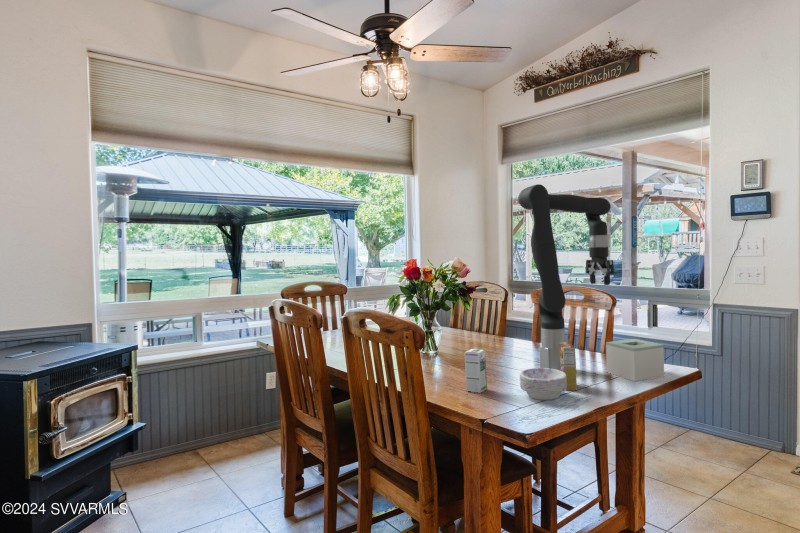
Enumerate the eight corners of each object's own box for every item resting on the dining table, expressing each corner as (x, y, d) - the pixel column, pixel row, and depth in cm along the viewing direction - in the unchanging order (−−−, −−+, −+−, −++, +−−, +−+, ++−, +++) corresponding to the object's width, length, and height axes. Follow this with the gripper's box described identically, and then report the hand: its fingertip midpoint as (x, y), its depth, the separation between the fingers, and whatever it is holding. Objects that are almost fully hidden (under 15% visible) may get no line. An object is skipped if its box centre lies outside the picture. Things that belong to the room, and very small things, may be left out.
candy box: (560, 383, 178) (558, 342, 177) (572, 383, 177) (571, 342, 177) (564, 390, 169) (563, 347, 169) (577, 390, 168) (575, 347, 168)
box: (634, 381, 176) (633, 348, 176) (606, 372, 190) (606, 342, 189) (664, 376, 181) (663, 344, 180) (635, 368, 194) (634, 338, 194)
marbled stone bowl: (540, 406, 154) (539, 381, 154) (511, 394, 168) (510, 371, 168) (577, 398, 160) (576, 374, 160) (546, 387, 174) (545, 365, 174)
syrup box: (481, 393, 170) (479, 352, 169) (465, 391, 173) (464, 351, 172) (487, 389, 175) (485, 349, 174) (472, 387, 178) (470, 348, 177)
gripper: (580, 246, 211) (581, 283, 211) (603, 246, 197) (604, 285, 198) (594, 246, 213) (595, 282, 213) (618, 245, 199) (619, 284, 200)
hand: (599, 284), depth 206 cm, fingers open, 8 cm apart
